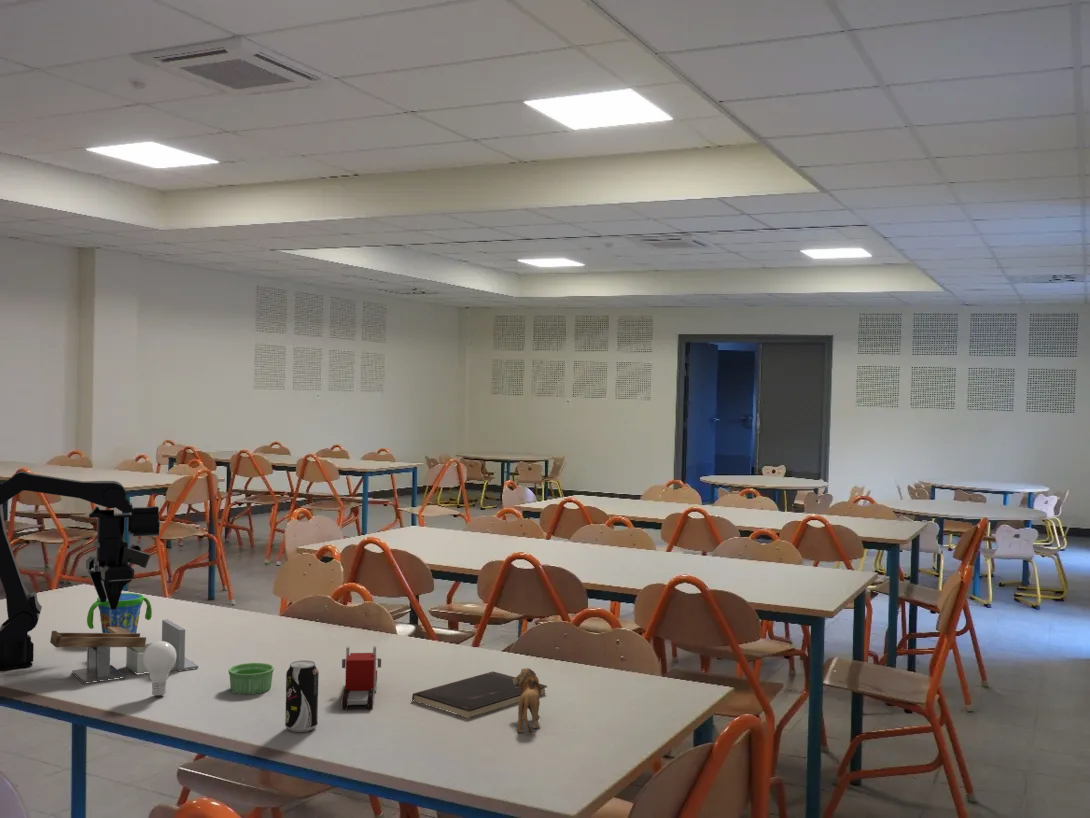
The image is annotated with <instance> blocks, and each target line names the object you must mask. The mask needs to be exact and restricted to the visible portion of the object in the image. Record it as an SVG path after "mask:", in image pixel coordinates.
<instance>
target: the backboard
mask: <svg viewBox="0 0 1090 818" xmlns="http://www.w3.org/2000/svg"><path fill="white" fill-rule="evenodd" d="M161 622H162V623H161V641H165V642H168V643H170V644H171V645H172V646H173V647H174V648H176V654H177V658H176V669H177V671H178V670H179V671H178V672H181V671H180V670H185V671H187V670H186V669H192V670H194V669H193V668H198V669H199V665H197V663H195V662H193V661H192V660H190V659H188V658H187V657H186V655H185V652H186V629H185V628H184V627H182V626H180V625H178V624H176V623H174V622H173V621H172V620H169V619H161ZM176 669H175V670H176Z"/></svg>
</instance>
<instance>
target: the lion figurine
mask: <svg viewBox="0 0 1090 818" xmlns="http://www.w3.org/2000/svg"><path fill="white" fill-rule="evenodd" d="M514 677H515V678H514V679H512V680H513V683H514V684H515V686H516V688H520V693H521V697H520V702H518V706H517V707H518V709H517V710H518V713H517V715H518V716H517V717H518V719H517V724H518V725H517V727H518V728H517V729H516V731H517V733H523V732H524V727H523V720H524V724H525V727H526V729H527V733H529V734H533V730H532V728H533V729H540V728H541V726H540V724H538V723H537V719H540V715H539V710H540V705H541V704H540V703H541V702H540V698H541V695H540V694H541V685H540V684H541V683H540V681H539V680H540V679H539V677H538V676H537V673H536V672H535V671H534V670H532V669H531V668H528V667H525V668H524V667H523V668H521V670H520V673H519V674H518V675H517V676H514ZM528 710H529V713H530V715H531V719H532V720H531V723H532V728H531V727H530V724H529V721H528Z"/></svg>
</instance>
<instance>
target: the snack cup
mask: <svg viewBox="0 0 1090 818" xmlns="http://www.w3.org/2000/svg"><path fill="white" fill-rule="evenodd" d="M143 602H145V604H146V610H145V614H144V619H145V620H146V621H150V620H151V619H152V615H153V612H152V610H153V609H152V605H151V604H152V603H151V602H150V600H149V599H148V598H147V597H146V596H144V595H143V594H141V593H132V592H126V593H124V592H122V593H121V596H120V599H119V602H118V605H117V608H116V609H113V610H112V609H111V608H110V606H109V603H108V600H107V599H106V602H101V601H100V599H99V597H98V596H97V599H96V601H95V602H93V603H92V604H91V606H90V608H89V609H88V612H87V618H86V624H87V626H88V628H89V629H94V614H95V613H94V611H95V610H96V608H97V607H98V611H99V618H100V625H101V633H110V632H109V631H107V629H108V627H122V628H124V629H125V630H127V631H128V632H129V633H138V632H137V631H138V625H139V621H140V614H141V608H142V606H143Z"/></svg>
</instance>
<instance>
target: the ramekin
mask: <svg viewBox="0 0 1090 818" xmlns="http://www.w3.org/2000/svg"><path fill="white" fill-rule="evenodd" d="M274 669H275V667H274V665H272V664H270V663H263V662H247V663H245V662H244V663H239V664H235V665H233V666H231V667H229V668H228V676H229V683H230V691H231V692H232V691H233V692H232V693H234V692H235V693H234V694H237V693H240V694H239V695H257V694H256V693H258V694H261V693H260V692H262V693H265V691H266V692H267V690H268V691H270V690H271V688H272V683H273V672H274ZM254 693H255V694H254Z"/></svg>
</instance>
